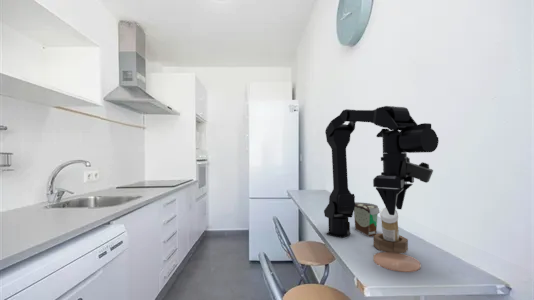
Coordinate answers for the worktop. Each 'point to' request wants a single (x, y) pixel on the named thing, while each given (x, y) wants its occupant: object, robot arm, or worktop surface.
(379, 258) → the peach round disc
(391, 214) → the robot arm
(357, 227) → the food container
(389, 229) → the sprinkles bottle
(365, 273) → the worktop surface
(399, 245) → the ring
